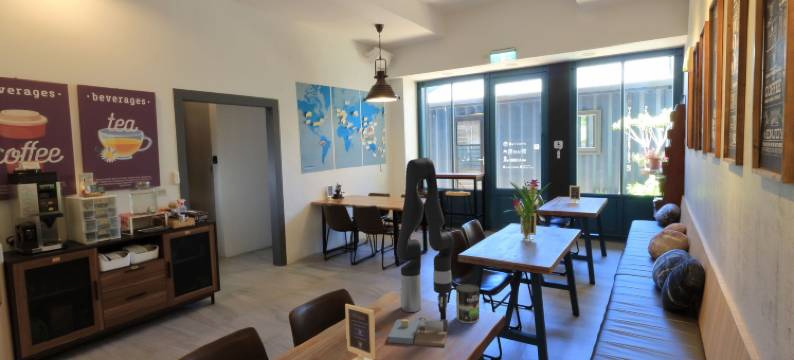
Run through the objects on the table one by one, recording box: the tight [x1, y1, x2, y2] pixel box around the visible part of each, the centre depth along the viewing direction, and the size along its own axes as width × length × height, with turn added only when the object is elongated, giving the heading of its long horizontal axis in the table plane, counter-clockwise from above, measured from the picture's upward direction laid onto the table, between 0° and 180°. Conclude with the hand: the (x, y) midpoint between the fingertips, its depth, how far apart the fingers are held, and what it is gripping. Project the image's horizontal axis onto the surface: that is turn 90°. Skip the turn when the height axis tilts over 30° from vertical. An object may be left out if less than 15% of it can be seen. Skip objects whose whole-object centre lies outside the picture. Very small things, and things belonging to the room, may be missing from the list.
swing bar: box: [417, 317, 449, 332], centre depth 171 cm, size 12×3×4 cm, turn 78°
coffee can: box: [455, 283, 480, 324], centre depth 187 cm, size 10×10×14 cm
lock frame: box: [387, 318, 449, 348], centre depth 173 cm, size 16×22×5 cm
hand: (443, 319), depth 177 cm, fingers closed
